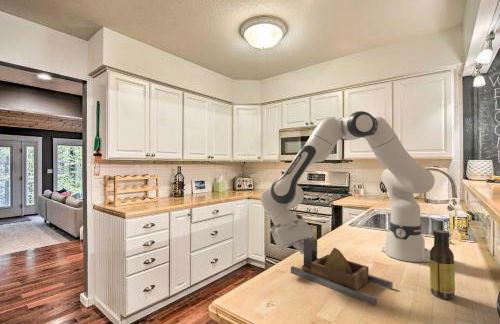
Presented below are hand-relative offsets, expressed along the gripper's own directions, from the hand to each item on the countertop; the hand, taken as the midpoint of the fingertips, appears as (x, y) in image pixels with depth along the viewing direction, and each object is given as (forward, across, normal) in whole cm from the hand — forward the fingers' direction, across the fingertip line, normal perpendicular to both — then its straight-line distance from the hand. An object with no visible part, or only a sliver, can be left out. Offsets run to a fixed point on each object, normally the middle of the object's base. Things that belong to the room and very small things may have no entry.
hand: (305, 252), depth 100 cm
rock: (+14, 0, -5) cm, 15 cm away
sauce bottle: (+33, +14, -25) cm, 44 cm away
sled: (+12, 0, -4) cm, 12 cm away
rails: (+14, 0, -6) cm, 15 cm away
